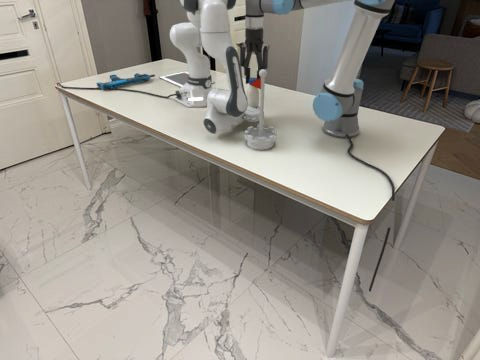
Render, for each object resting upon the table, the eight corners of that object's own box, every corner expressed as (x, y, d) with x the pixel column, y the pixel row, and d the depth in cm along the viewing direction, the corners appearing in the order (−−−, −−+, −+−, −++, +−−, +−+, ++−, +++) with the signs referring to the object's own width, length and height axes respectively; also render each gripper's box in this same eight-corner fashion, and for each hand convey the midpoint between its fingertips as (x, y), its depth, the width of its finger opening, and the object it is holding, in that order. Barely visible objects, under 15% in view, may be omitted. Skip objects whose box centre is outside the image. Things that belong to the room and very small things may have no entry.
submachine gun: (140, 68, 226) (159, 74, 209) (142, 73, 228) (160, 80, 211) (89, 77, 207) (104, 85, 190) (90, 84, 209) (106, 92, 192)
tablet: (159, 77, 217) (158, 76, 217) (185, 71, 228) (185, 71, 228) (186, 89, 197) (186, 89, 197) (214, 82, 208) (214, 82, 208)
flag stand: (268, 134, 146) (271, 63, 130) (281, 147, 136) (287, 72, 120) (240, 139, 142) (239, 66, 126) (252, 153, 132) (253, 76, 116)
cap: (254, 86, 149) (254, 80, 148) (246, 84, 152) (247, 79, 150) (259, 83, 152) (259, 78, 151) (252, 82, 154) (252, 76, 153)
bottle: (244, 118, 162) (244, 79, 152) (254, 115, 164) (255, 77, 154) (250, 122, 158) (251, 82, 148) (260, 119, 160) (261, 80, 150)
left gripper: (253, 114, 142) (272, 105, 151) (217, 103, 153) (237, 95, 162) (252, 128, 146) (271, 118, 154) (218, 116, 157) (237, 107, 166)
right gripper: (278, 28, 138) (275, 85, 151) (240, 24, 146) (240, 78, 159) (269, 31, 133) (267, 89, 145) (231, 27, 140) (231, 83, 153)
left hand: (253, 106), depth 158 cm, fingers closed on bottle, 5 cm apart
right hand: (253, 83), depth 152 cm, fingers open, 5 cm apart
